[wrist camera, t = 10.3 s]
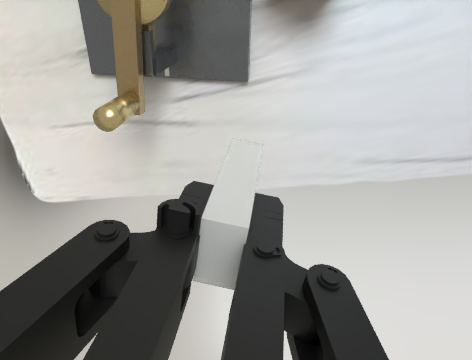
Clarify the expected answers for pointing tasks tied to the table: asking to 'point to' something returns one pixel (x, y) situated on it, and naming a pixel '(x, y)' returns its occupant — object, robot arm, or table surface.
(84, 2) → the post base
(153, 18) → the brass crank handle
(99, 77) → the table surface
